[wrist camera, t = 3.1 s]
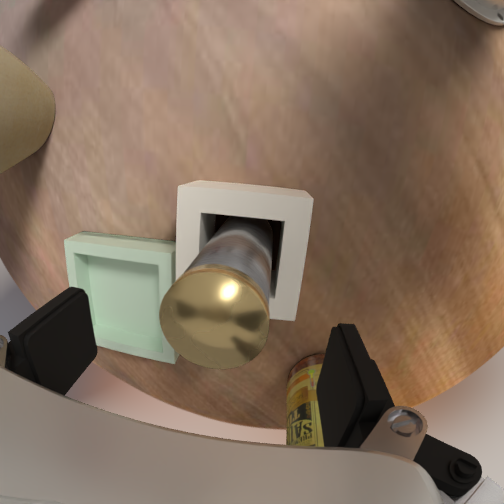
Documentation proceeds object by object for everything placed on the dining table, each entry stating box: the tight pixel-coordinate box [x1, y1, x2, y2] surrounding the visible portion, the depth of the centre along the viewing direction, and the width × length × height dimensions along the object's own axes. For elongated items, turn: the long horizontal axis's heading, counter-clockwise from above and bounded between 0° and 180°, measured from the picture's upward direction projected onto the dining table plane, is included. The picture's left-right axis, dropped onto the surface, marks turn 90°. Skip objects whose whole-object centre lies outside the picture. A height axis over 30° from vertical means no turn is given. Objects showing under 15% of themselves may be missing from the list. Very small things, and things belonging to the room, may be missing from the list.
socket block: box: [176, 180, 314, 321], centre depth 21 cm, size 8×8×5 cm
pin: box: [159, 216, 273, 369], centre depth 17 cm, size 4×4×13 cm
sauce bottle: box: [286, 354, 325, 447], centre depth 17 cm, size 7×6×20 cm
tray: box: [64, 231, 180, 364], centre depth 24 cm, size 10×10×3 cm
